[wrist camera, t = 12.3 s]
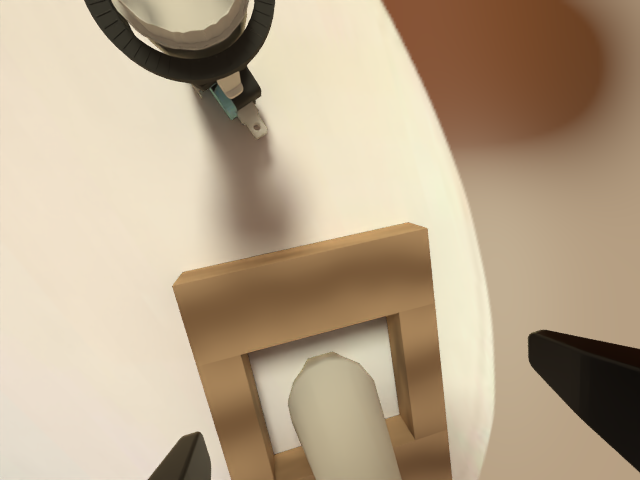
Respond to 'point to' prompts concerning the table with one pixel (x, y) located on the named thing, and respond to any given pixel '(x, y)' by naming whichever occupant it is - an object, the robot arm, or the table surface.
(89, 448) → the table surface
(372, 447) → the salt shaker
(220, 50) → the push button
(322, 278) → the wooden flat frame
